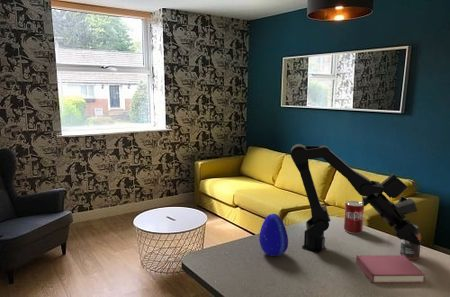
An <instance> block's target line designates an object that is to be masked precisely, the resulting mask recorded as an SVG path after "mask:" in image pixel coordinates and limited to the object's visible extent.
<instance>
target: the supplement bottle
mask: <svg viewBox="0 0 450 297" xmlns="http://www.w3.org/2000/svg"><path fill="white" fill-rule="evenodd" d="M413 225H414V226H415V227H416V230H415V231H414V233H415V235H416V236H417V238H418V240H419V241H420V243H421V241H422V234H421V233H420V232H419V226H418V225H416V224H413ZM421 244H422V243H421ZM421 244H420V245H419V246H418V245H416V244H413V243H411V242H408V241H406V240H403V239H402V240H400V248H399V249H400V251H399V255H404V256H405V257H406V258H407V259H408V260H410V261H416V260H418V259H420V255H421V254H420V252H421Z"/></svg>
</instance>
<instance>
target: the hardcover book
mask: <svg viewBox="0 0 450 297" xmlns="http://www.w3.org/2000/svg"><path fill="white" fill-rule="evenodd" d="M355 257H356V258H355V265H357V267H358V268H359V269H360V270H361V271H362V273H363V274H364V275H365V277H366V278H367V279H368V280H369V281H370V283H371V284H398V283H399V284H411V283H413V284H414V283H415V284H417V283H418V284H424V283H425V281H424V276H426V274H425V273H424V272H423V271H422V270H421V269H420V268H418V266H416V265H415V264H414V263H413V262H412V260H409V259H407V258H406V257H405V256H404V255H401V254H398V255H397V254H396V255H394V254H393V255H392V254H391V255H390V254H389V255H383V254H381V255H377V254H375V255H374V254H373V255H367V254H366V255H359V254H358V255H357V254H356V256H355Z"/></svg>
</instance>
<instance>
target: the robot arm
mask: <svg viewBox="0 0 450 297" xmlns="http://www.w3.org/2000/svg"><path fill="white" fill-rule="evenodd" d="M290 158H291V159H292V162H293V163H294V165H295V167H296V169H297V171H298V172H299V175H300V177H301V181H302V184H303V187H304V190H305V191H304V192H305V193H306V196H307V201H308V203H309V206H310V212H311V217H310V218H309V219H308V220H307V221H305V228H306V229H305V230H304V236H303V237H304V240H303V245H302V246H301V248H302V249H304V250H308V251H311V252H314V253H320V252H321V251H322V250H324V248H326V245H325V243H326V238H325V237H326V236H325V231H327V230H328V229H329V227H330V222H331V216H330V215H329V213H328V209H327V205H323V206H322V204H321V202H320V199H319V195H318V192H317V189H316V187H315V186H316V184H315V182H314V179H313V176H312V172H311V170H310V164H309V163H310V162H309V160H316V159H323V160H324V161H325V162H327V163H328V165H330V166H331V167H332V168H334V169H335V171H337V172H338V173H340V174H341V175H342V176H343V177H344V178H345V179H346V180H347V181H348V182H349V183H350V185H351V186H352V187H353V189H354V190H355V191H356V192H357V193H358V194H359V196H361V198H362V199H361V203H362V204H363V206H364V207H366V206H368V205H370V207H372V209H374V210H375V212H376V213H378V214H379V216H380V217H381V218H382V219H383V220H385V222H386V223H387V224H388V225H389V227H391V228H392V227H394V228H393V233H394V235H396V237H397V238H398V239H399V240H400V241H401V240H402V239H403V240H406V241H408V242H411V243H413V244H416V245H418V246H419V245H420V246H421V244H422V243H420V241H419V240H418V238H417V236H416V235H415V233H414V231H415V230H416V227H415V226H414V225H415V224H413V223H412V221H410V220H409V219H406V217H407V216H406V215H409V214H411V213H417V212H418V211H419V208H418V206H417V204H416V202H415V200H413V198H409V197H408V198H406V197H405V196H404V195H401V194H403V193H404V192H405V191H407V190H408V189H409V187H408V186H407V185H406V184H405V182H403V181H402V180H401V179H399V177H397V176H396V175H395V174H394V173H391V174H390V175H389V176H388V177H387V178H386V179H384V180H383V181H382V182H379V181H375V180H371V179H370V178H368V177H366V176H365V175H363V174H362V173H360V172H358V171H356V170H355V169H353V168H351V167H350V166H349V165H348V164H347V163H346V162H345V161H343V160H342V159H341V158H340V156H337V155H336V154H335V153H334V152H333V151H332V150H331V149H329V147H328V146H327V145H303V144H302V143H297V144H294V145H293V146H292V147H291V149H290ZM400 195H401V196H400ZM388 197H389V199H388ZM397 197H399V198H398V201H397V203H394V202H393V201H391V200H390V199H391V198H392V199H397Z"/></svg>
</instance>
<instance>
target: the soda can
mask: <svg viewBox="0 0 450 297" xmlns="http://www.w3.org/2000/svg"><path fill="white" fill-rule="evenodd" d="M364 214H365V206H363V204H362V201H361V202H360V201H358V200H348V201H347V200H346V202H345V206H344V219H343V221H344V222H343V223H344V224H343V230H344V231H345V232H346V233H349V234H352V235H357V234H358V235H359V234H361V233H363V230H364V229H363V228H364Z"/></svg>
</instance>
